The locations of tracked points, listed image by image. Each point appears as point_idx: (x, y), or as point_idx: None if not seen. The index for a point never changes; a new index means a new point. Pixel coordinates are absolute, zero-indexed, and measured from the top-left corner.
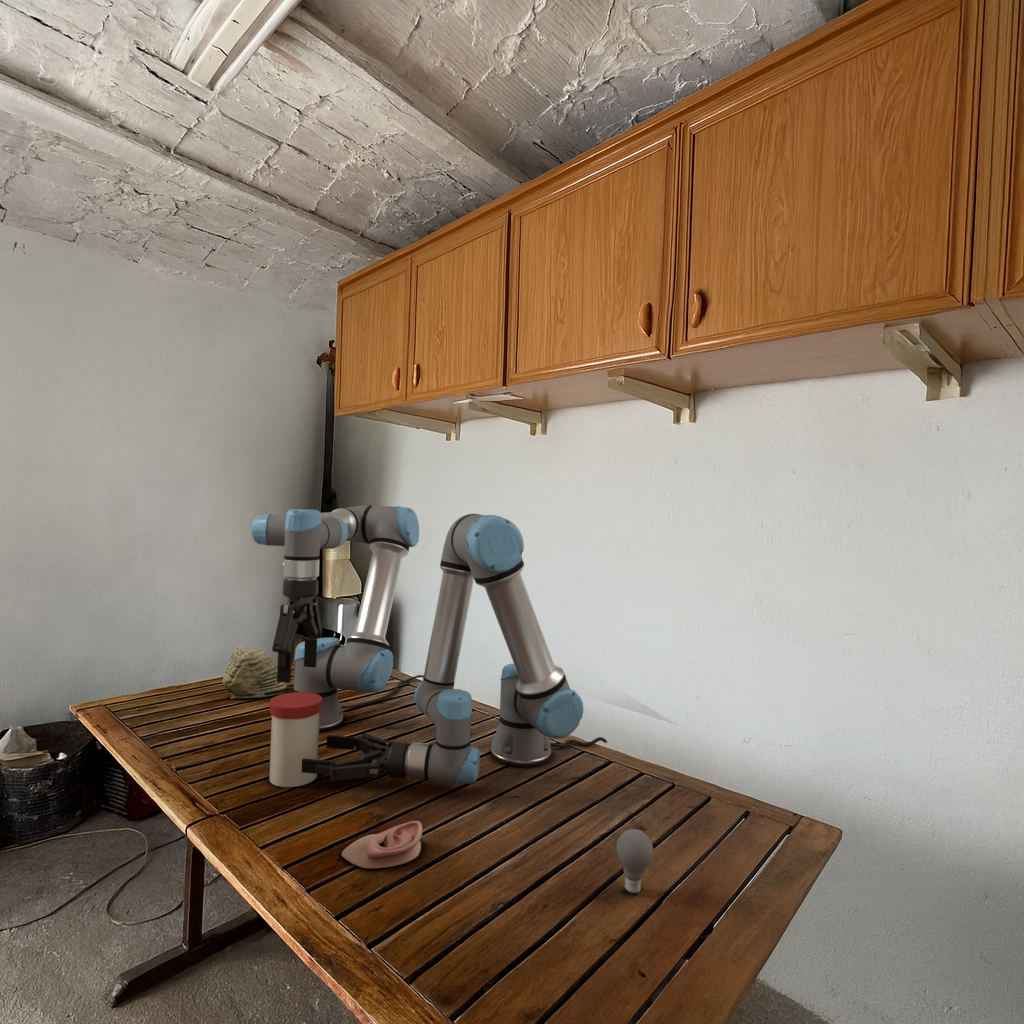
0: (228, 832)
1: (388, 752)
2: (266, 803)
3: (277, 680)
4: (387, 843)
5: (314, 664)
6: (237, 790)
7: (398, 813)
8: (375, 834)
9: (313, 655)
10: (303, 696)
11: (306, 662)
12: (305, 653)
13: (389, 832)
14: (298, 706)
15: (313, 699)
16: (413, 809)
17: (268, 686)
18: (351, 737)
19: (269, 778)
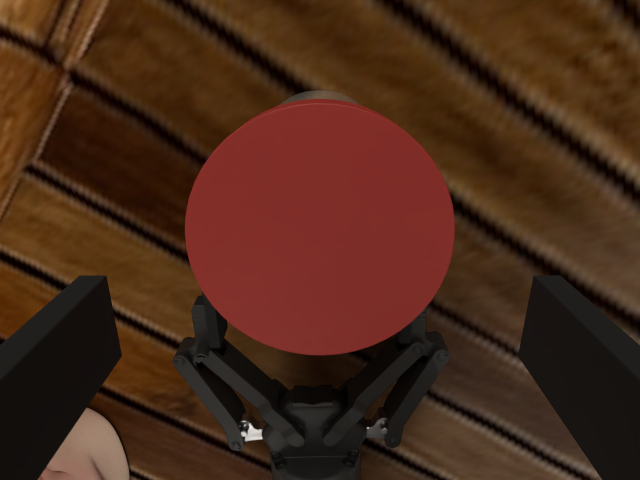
0: (3, 148)
1: (323, 447)
2: (158, 163)
3: (75, 283)
4: (55, 472)
5: (529, 366)
6: (198, 41)
7: (211, 434)
8: (94, 436)
9: (570, 410)
10: (377, 254)
11: (546, 313)
12: (594, 350)
13: (72, 476)
14: (223, 296)
15: (344, 316)
16: (234, 453)
17: None
18: (405, 334)
19: (280, 103)
